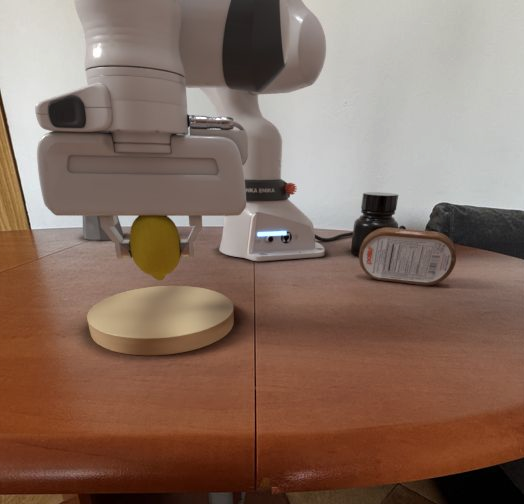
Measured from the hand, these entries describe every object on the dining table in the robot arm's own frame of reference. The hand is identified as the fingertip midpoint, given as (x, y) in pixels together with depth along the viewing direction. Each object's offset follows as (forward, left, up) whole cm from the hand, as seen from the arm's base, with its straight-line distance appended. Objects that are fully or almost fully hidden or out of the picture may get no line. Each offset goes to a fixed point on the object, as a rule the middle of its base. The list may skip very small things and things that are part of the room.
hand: (156, 257), depth 43 cm
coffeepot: (+18, -55, -8) cm, 59 cm away
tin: (-38, -13, -8) cm, 41 cm away
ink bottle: (-41, -32, -8) cm, 53 cm away
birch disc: (0, 0, -8) cm, 8 cm away
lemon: (0, 0, -3) cm, 3 cm away
